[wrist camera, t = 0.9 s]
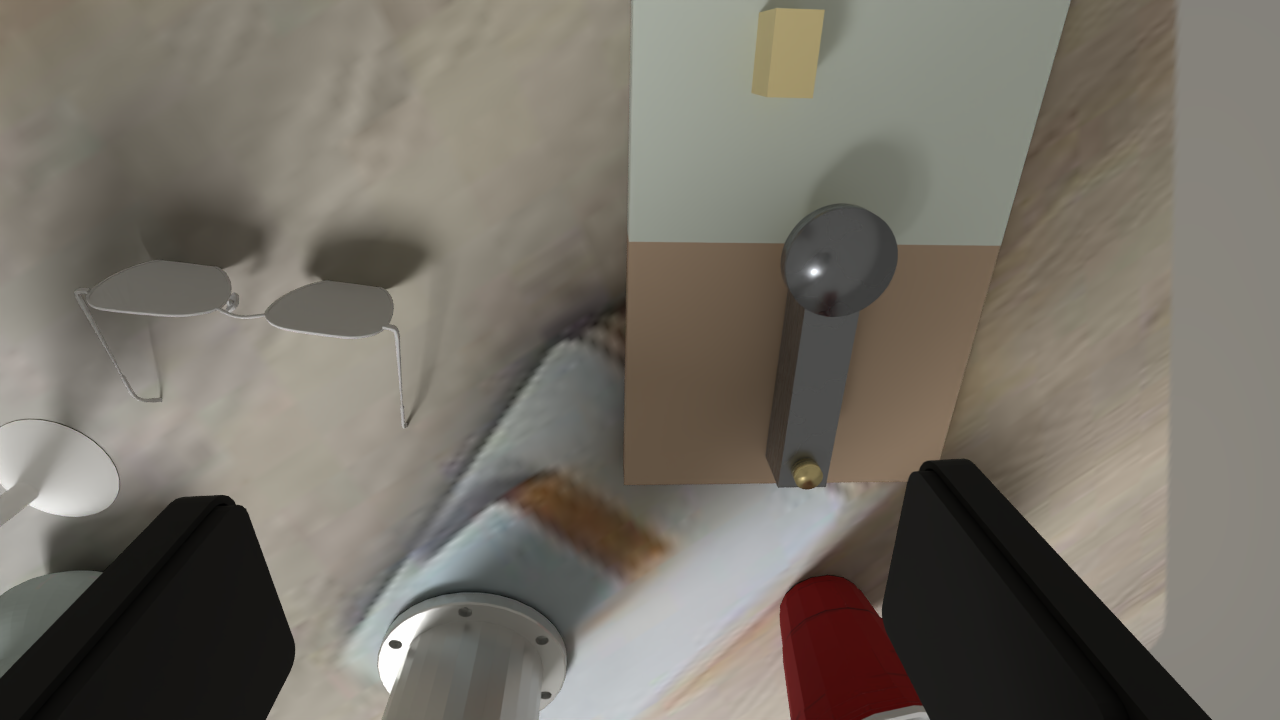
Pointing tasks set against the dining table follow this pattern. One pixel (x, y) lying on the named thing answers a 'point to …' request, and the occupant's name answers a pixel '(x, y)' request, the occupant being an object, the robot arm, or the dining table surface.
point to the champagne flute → (53, 471)
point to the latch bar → (822, 332)
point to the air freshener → (36, 610)
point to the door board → (801, 183)
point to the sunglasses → (210, 289)
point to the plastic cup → (841, 657)
